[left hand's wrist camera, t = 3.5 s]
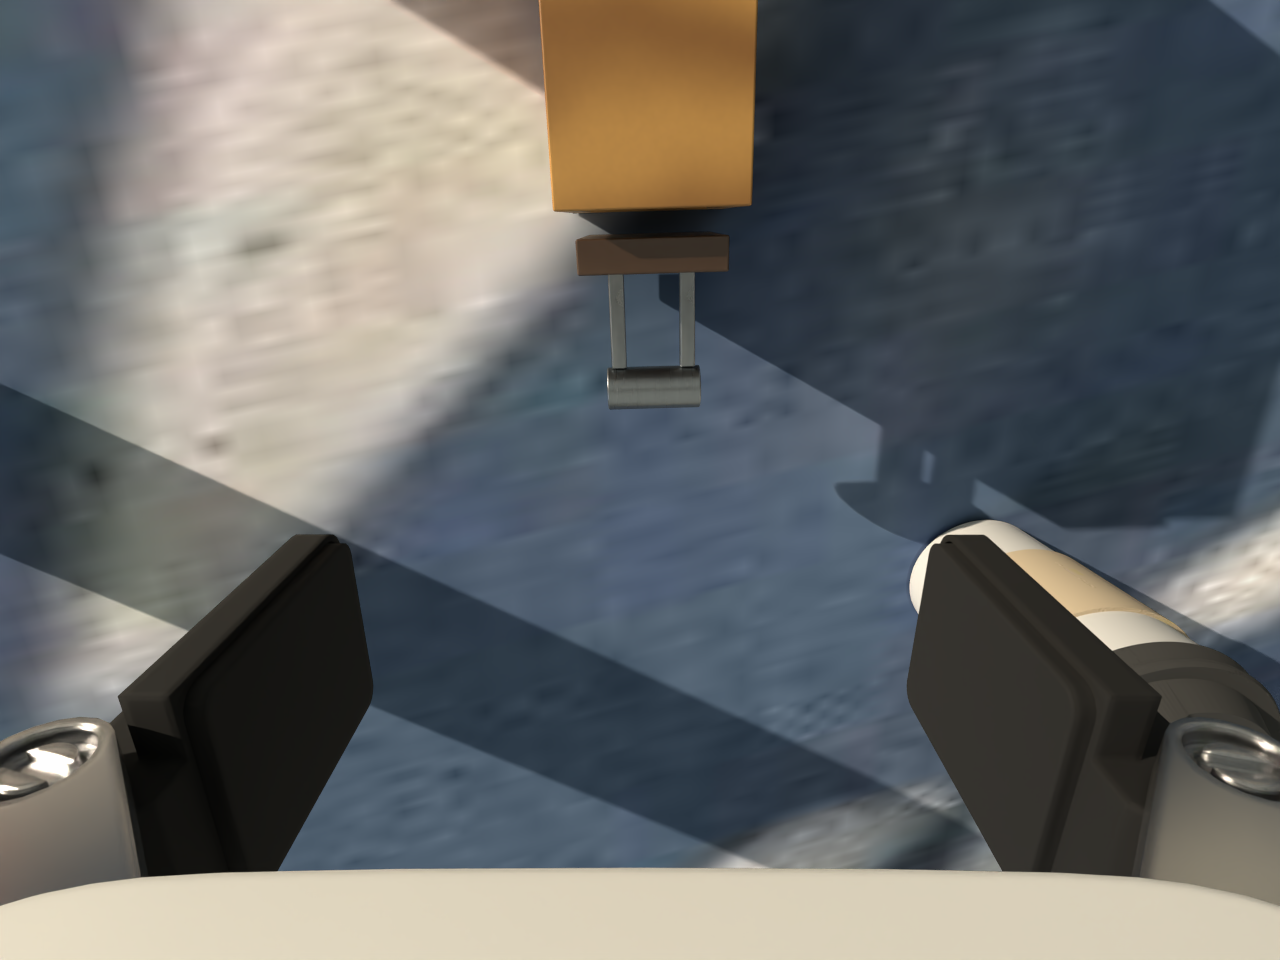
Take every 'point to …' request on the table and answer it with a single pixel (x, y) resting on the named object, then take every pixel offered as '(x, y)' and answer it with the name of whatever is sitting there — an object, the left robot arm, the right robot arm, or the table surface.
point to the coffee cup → (1132, 635)
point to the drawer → (684, 258)
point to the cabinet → (649, 103)
